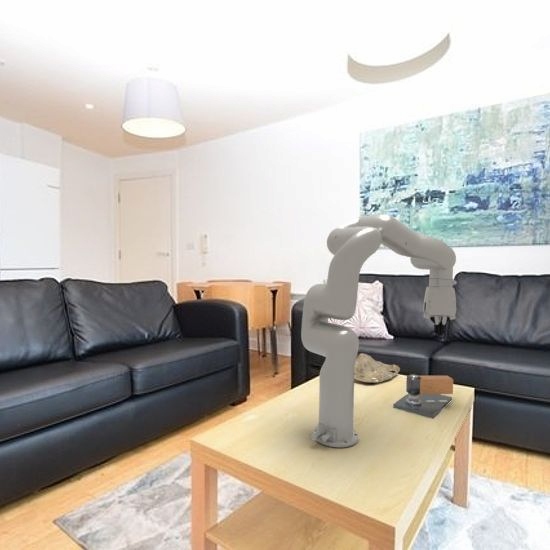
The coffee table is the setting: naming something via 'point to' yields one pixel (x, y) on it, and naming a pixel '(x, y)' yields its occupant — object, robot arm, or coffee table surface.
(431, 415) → the post base
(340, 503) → the coffee table surface
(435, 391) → the orange boxy piece
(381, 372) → the stone
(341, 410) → the robot arm
